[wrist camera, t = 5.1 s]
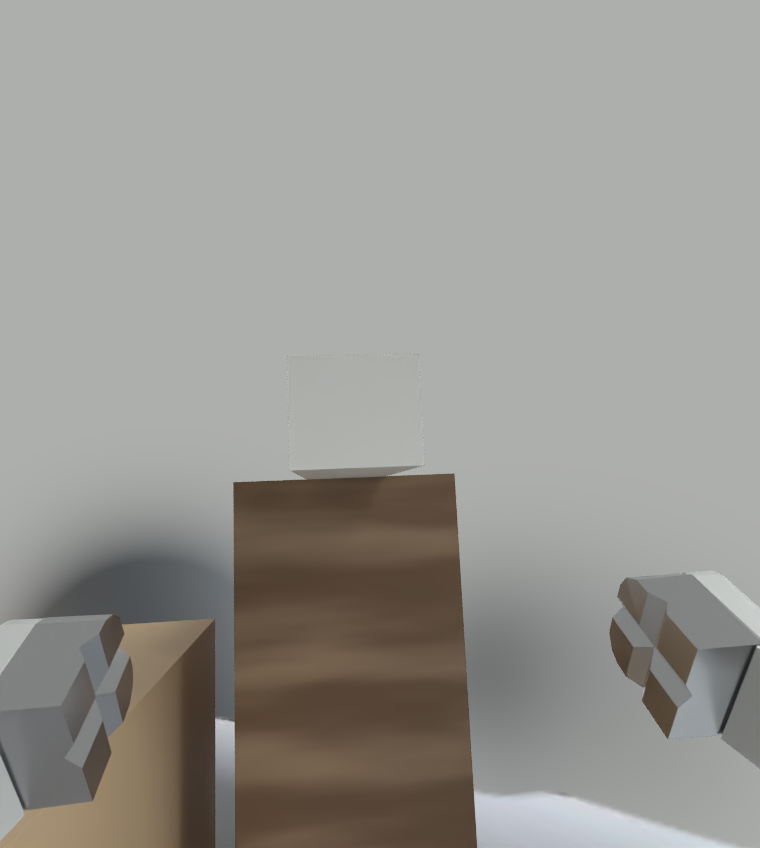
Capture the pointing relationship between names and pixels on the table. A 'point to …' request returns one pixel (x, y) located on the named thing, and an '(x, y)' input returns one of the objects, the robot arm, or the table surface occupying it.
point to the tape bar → (354, 415)
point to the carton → (149, 754)
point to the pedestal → (350, 665)
